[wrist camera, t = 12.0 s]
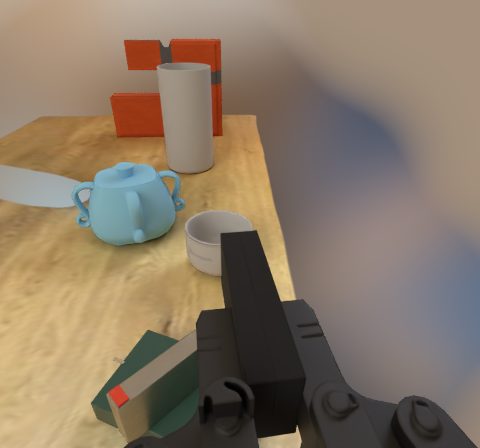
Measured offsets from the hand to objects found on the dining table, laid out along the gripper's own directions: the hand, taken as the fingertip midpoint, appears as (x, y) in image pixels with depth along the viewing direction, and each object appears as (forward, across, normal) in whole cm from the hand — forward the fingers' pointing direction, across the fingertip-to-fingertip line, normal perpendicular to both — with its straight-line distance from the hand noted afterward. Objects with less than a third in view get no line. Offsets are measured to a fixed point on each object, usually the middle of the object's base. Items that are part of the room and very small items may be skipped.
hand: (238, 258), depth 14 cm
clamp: (+106, -8, -28) cm, 110 cm away
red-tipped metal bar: (+10, -4, -25) cm, 27 cm away
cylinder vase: (+77, -2, -28) cm, 82 cm away
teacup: (+32, +2, -28) cm, 43 cm away
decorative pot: (+46, -13, -28) cm, 56 cm away
